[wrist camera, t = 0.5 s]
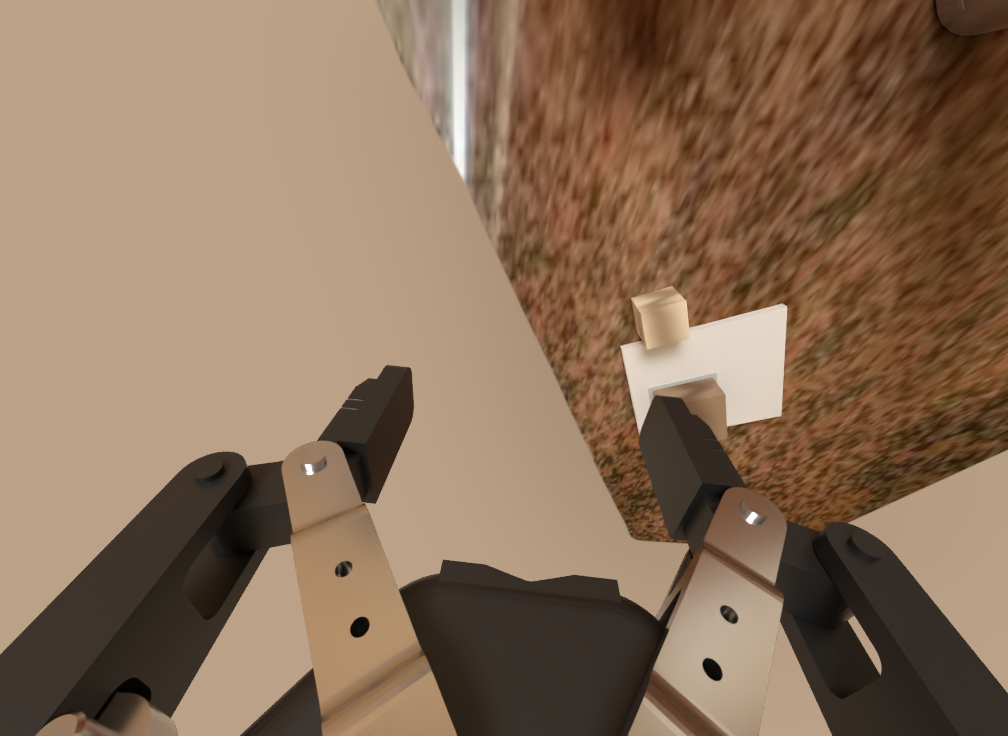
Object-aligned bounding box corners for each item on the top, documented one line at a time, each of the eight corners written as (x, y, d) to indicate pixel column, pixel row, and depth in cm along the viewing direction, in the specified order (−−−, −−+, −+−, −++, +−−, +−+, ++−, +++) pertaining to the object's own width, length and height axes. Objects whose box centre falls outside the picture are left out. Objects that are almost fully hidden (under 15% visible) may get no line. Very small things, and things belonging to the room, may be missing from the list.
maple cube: (671, 285, 45) (686, 301, 41) (675, 320, 47) (690, 338, 43) (630, 297, 46) (640, 313, 42) (636, 331, 49) (646, 349, 44)
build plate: (782, 303, 45) (787, 307, 44) (777, 411, 54) (781, 416, 53) (620, 346, 50) (621, 350, 49) (639, 439, 58) (641, 444, 58)
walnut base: (712, 377, 50) (725, 394, 47) (715, 419, 54) (727, 438, 51) (652, 390, 52) (661, 408, 49) (659, 430, 56) (667, 449, 53)
